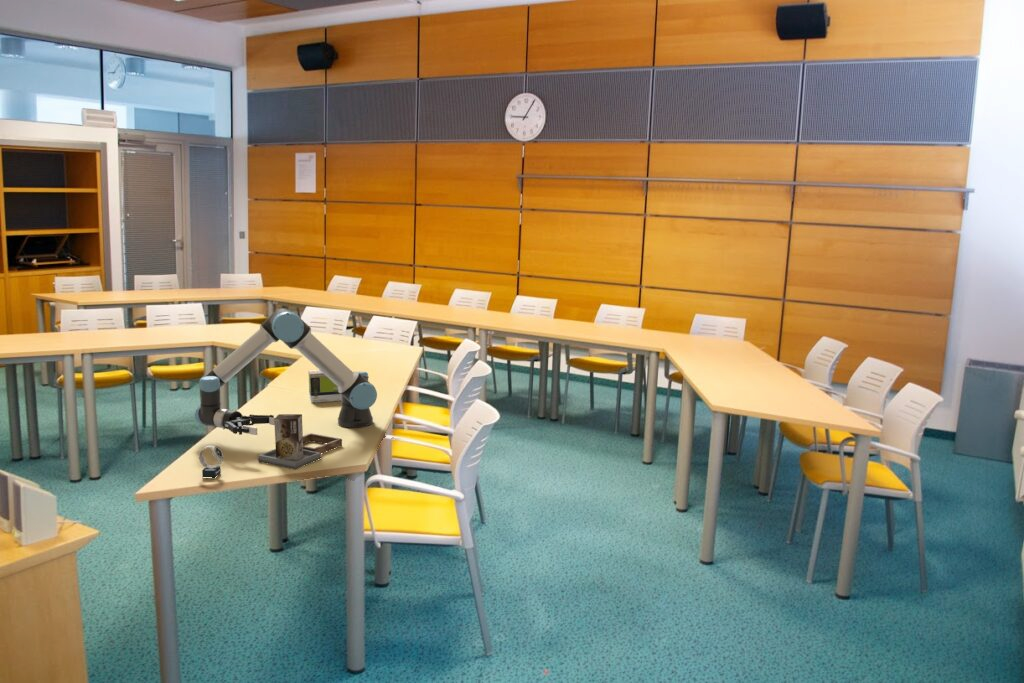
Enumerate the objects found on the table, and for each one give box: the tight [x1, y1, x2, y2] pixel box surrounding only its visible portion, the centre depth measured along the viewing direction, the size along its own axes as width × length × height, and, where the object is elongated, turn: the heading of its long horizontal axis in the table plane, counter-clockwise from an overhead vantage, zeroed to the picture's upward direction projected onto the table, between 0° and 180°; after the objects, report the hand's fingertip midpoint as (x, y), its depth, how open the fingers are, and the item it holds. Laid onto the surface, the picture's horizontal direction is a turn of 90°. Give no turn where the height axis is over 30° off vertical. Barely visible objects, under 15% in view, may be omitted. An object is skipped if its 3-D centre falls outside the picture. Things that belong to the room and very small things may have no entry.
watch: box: [198, 444, 224, 478], centre depth 277 cm, size 6×8×11 cm
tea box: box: [308, 369, 342, 403], centre depth 390 cm, size 15×10×15 cm, turn 108°
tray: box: [257, 448, 322, 470], centre depth 297 cm, size 14×18×2 cm
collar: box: [303, 433, 343, 454], centre depth 312 cm, size 16×16×3 cm
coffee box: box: [273, 413, 304, 460], centre depth 295 cm, size 9×6×16 cm
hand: (269, 427), depth 299 cm, fingers open, 13 cm apart
